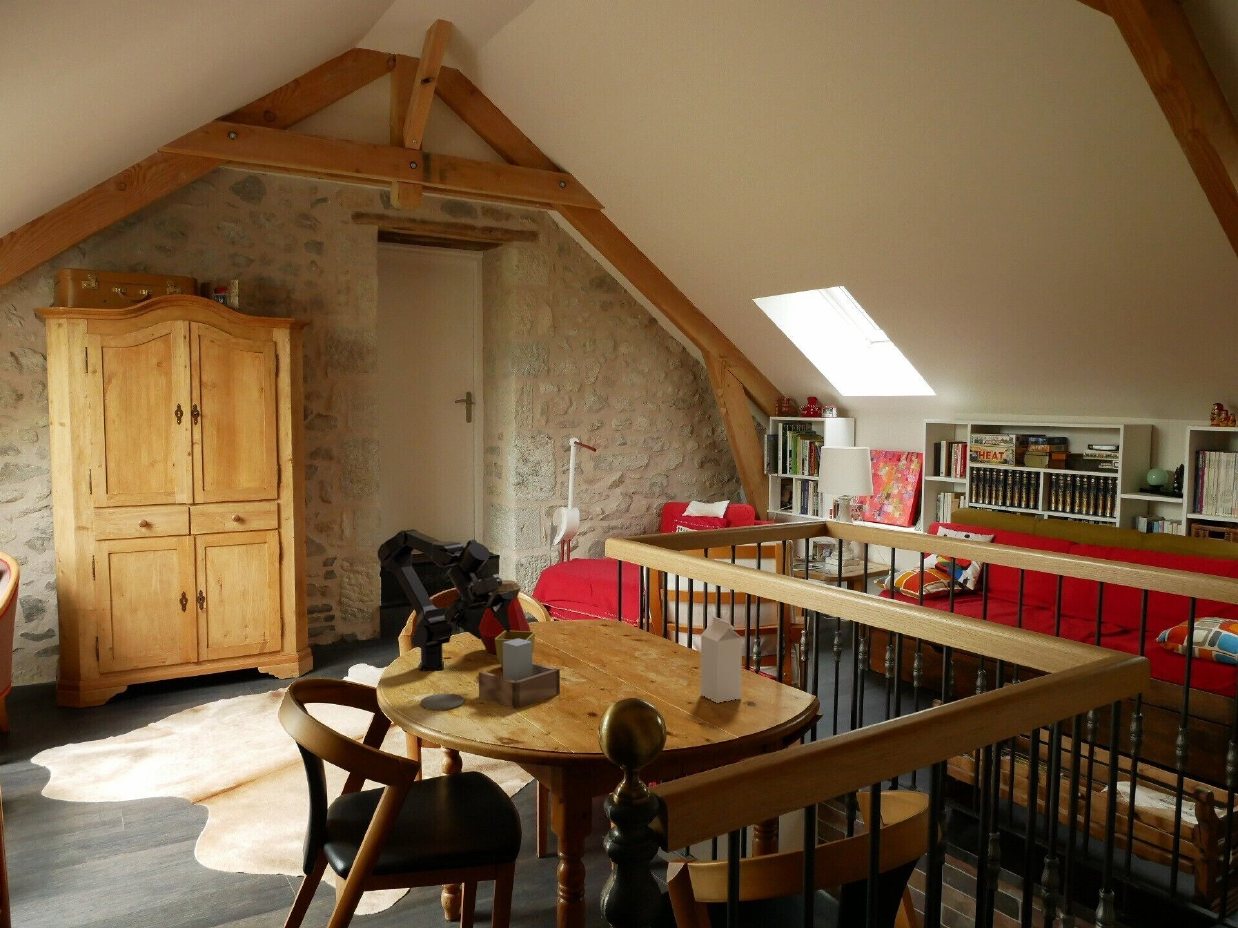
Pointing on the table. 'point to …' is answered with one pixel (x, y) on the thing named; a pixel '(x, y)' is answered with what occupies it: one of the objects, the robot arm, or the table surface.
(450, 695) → the mat
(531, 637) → the flower pot
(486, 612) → the bottle
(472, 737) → the table surface
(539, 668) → the crate
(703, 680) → the milk carton
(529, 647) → the block
